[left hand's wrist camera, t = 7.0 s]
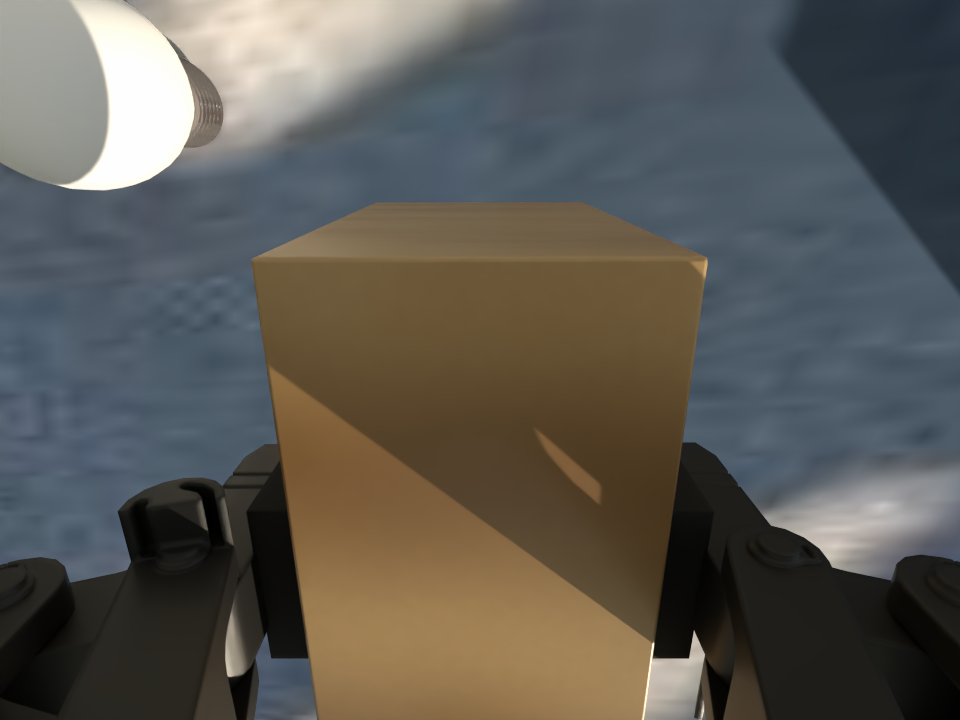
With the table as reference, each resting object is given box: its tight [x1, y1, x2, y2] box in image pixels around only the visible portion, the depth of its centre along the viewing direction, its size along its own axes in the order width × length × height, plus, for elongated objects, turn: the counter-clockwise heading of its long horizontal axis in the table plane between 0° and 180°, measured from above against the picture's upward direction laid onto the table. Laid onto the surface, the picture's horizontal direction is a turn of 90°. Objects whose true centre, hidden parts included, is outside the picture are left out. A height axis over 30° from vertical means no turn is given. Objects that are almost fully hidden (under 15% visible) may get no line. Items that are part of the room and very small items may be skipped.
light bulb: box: [0, 0, 223, 190], centre depth 20 cm, size 7×7×11 cm
